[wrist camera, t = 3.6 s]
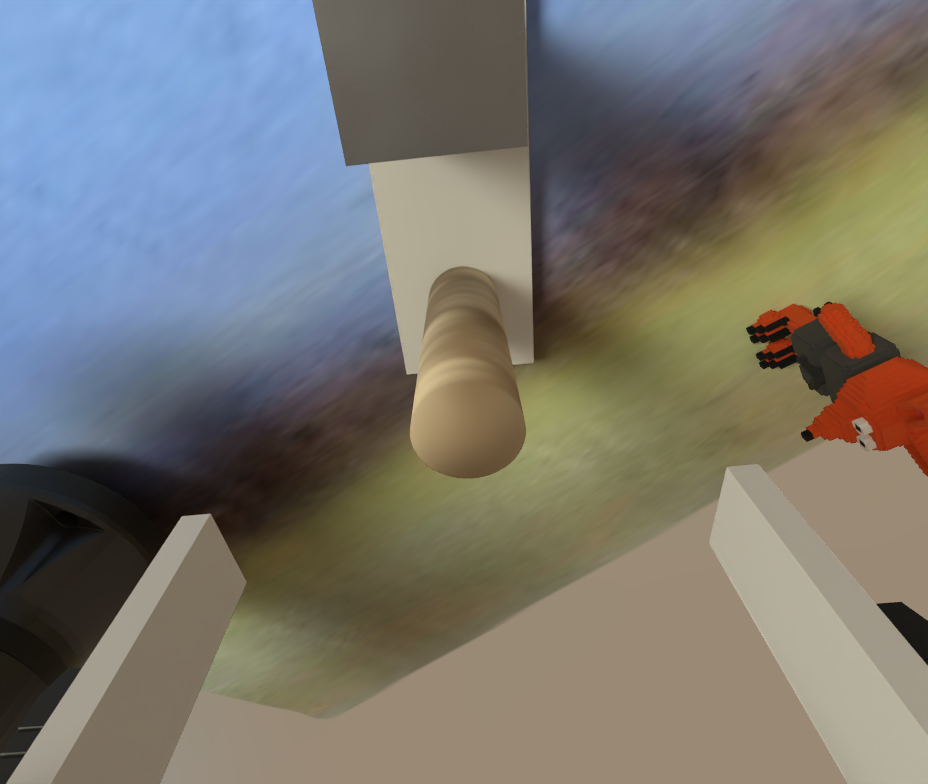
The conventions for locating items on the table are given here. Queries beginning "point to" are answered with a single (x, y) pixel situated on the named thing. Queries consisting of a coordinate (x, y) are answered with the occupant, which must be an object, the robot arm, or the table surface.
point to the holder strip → (458, 235)
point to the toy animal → (850, 378)
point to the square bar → (425, 76)
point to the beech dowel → (466, 381)
